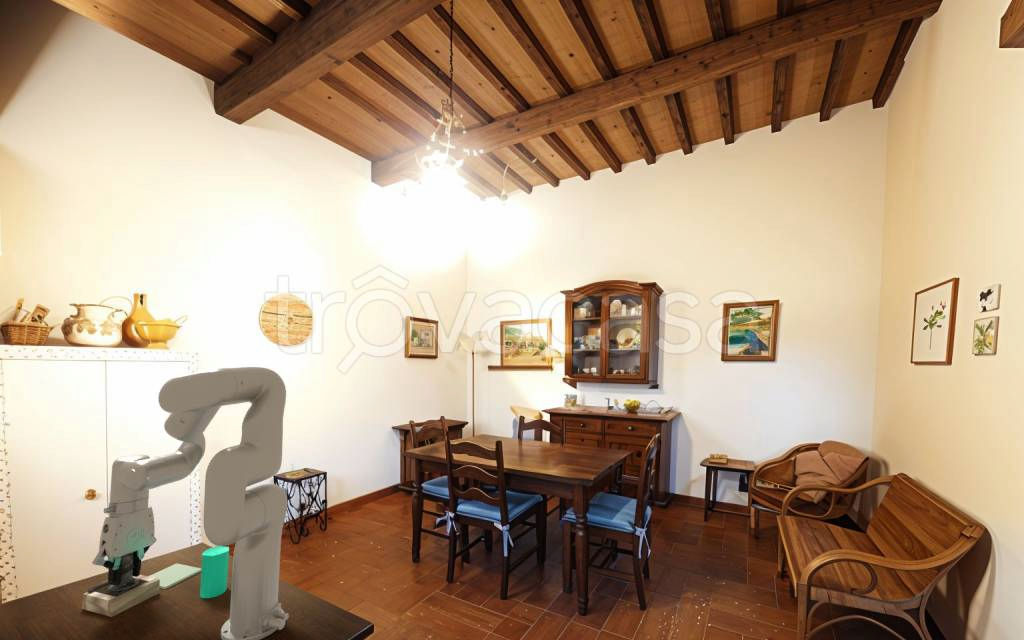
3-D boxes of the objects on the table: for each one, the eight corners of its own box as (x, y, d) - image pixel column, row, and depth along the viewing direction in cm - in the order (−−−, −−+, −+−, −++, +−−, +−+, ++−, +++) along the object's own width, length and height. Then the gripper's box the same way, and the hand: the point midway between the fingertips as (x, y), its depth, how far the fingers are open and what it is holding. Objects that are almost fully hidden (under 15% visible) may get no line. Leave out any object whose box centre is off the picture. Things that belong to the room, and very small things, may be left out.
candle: (213, 599, 109) (216, 551, 110) (193, 596, 110) (196, 548, 111) (232, 587, 115) (235, 541, 116) (213, 584, 116) (216, 538, 117)
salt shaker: (115, 594, 110) (118, 546, 111) (143, 590, 112) (146, 543, 113) (101, 607, 105) (105, 556, 105) (131, 603, 106) (134, 553, 107)
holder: (158, 593, 112) (160, 575, 112) (111, 616, 102) (113, 597, 102) (130, 586, 115) (131, 568, 115) (81, 608, 105) (83, 589, 105)
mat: (202, 570, 123) (202, 568, 123) (165, 589, 114) (165, 587, 114) (176, 565, 126) (176, 563, 126) (138, 583, 116) (138, 580, 116)
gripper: (100, 519, 101) (94, 600, 100) (173, 496, 117) (169, 566, 115) (78, 515, 103) (73, 595, 102) (153, 493, 119) (149, 562, 118)
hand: (124, 579), depth 109 cm, fingers closed on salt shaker, 3 cm apart
